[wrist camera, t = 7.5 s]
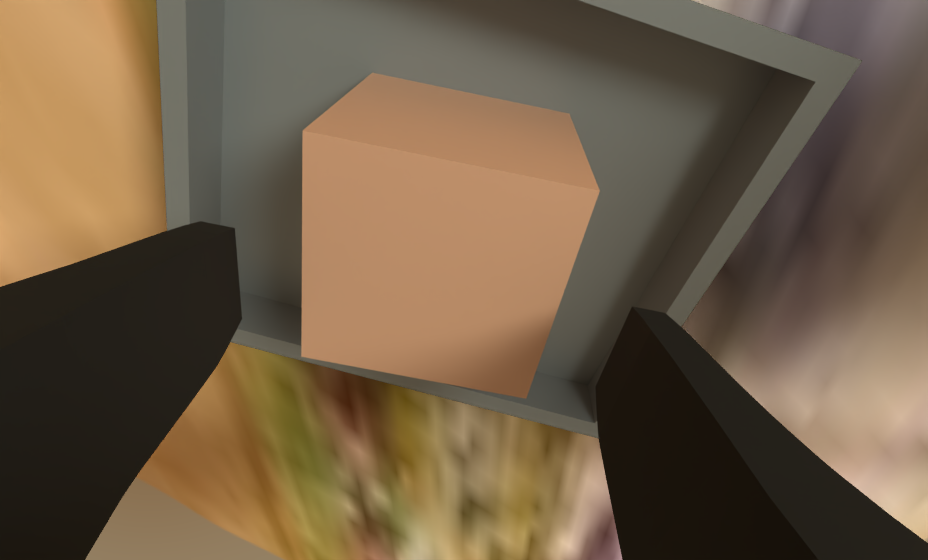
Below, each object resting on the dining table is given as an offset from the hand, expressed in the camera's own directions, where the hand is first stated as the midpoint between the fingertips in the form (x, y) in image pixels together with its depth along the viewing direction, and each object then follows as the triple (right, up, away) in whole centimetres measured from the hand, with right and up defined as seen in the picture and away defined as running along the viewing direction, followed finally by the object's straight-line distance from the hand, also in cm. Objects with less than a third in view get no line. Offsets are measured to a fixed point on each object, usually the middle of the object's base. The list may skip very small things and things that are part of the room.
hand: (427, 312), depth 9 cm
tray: (0, +3, +5) cm, 6 cm away
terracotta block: (0, +3, +5) cm, 6 cm away
